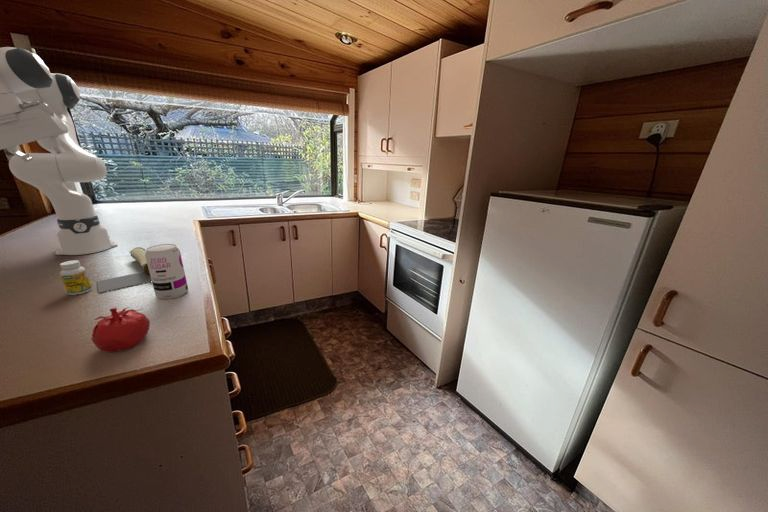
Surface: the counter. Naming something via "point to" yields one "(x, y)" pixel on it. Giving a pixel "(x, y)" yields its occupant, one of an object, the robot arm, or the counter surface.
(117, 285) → the mat
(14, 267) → the counter surface
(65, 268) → the supplement bottle
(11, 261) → the counter surface
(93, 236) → the robot arm
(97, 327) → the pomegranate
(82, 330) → the counter surface
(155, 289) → the supplement can
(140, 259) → the rolling pin
